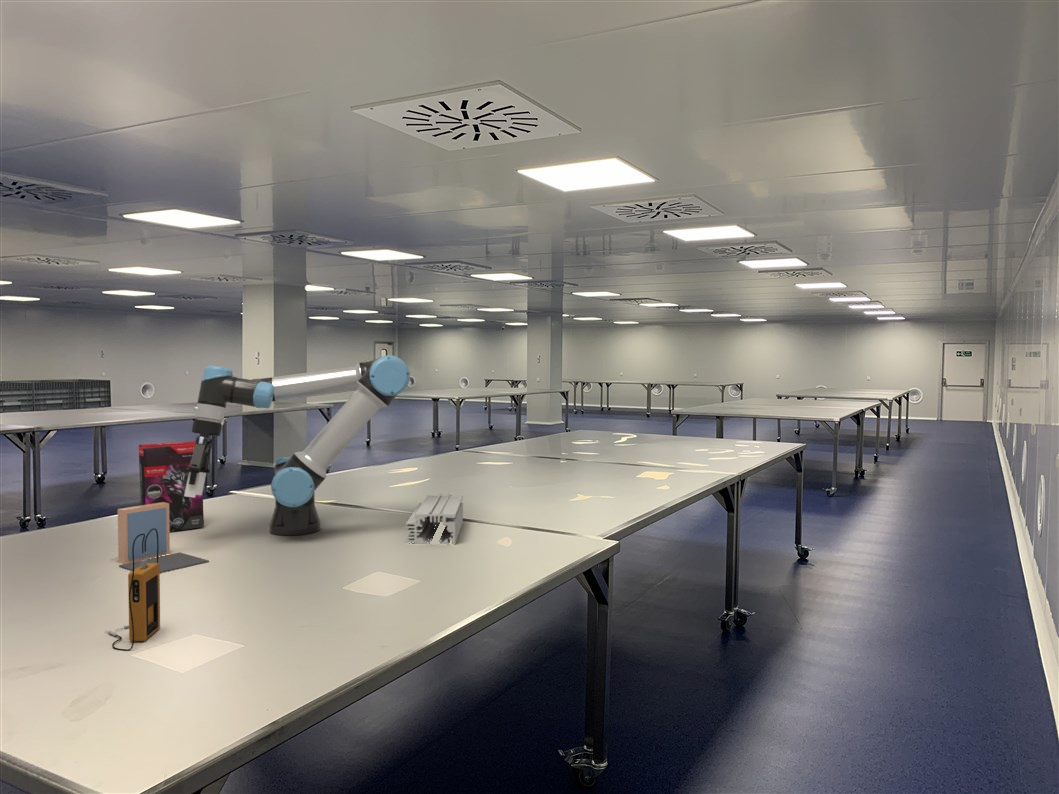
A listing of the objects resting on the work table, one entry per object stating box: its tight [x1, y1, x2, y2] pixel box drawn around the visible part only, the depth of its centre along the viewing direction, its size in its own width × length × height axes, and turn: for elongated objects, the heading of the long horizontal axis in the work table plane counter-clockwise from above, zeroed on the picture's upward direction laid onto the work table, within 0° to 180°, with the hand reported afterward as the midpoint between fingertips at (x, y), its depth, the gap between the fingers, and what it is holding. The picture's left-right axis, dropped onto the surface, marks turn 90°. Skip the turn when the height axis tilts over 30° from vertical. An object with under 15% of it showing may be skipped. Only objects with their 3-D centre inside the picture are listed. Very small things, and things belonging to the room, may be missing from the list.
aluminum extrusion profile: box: [405, 492, 464, 545], centre depth 225 cm, size 14×31×10 cm, turn 1°
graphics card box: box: [138, 440, 205, 532], centre depth 226 cm, size 17×7×27 cm, turn 131°
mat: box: [118, 552, 210, 574], centre depth 187 cm, size 14×16×1 cm
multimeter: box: [104, 528, 161, 652], centre depth 137 cm, size 15×10×20 cm
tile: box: [117, 502, 171, 565], centre depth 193 cm, size 3×12×14 cm, turn 145°
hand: (193, 495), depth 203 cm, fingers open, 13 cm apart
